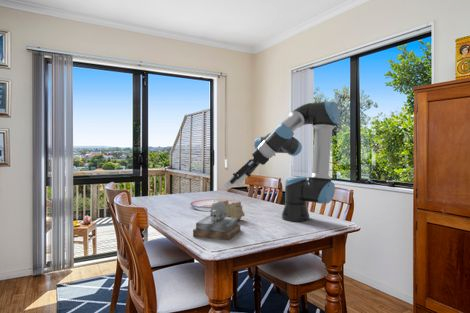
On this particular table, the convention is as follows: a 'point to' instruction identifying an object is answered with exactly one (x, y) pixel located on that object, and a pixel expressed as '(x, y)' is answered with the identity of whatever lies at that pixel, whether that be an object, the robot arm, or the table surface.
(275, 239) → the table surface
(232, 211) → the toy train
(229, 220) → the brick stand
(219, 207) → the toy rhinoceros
